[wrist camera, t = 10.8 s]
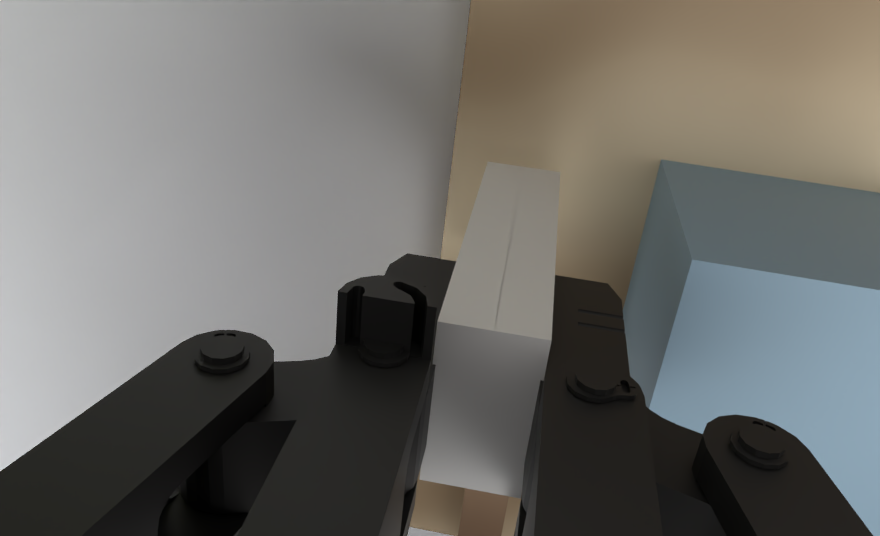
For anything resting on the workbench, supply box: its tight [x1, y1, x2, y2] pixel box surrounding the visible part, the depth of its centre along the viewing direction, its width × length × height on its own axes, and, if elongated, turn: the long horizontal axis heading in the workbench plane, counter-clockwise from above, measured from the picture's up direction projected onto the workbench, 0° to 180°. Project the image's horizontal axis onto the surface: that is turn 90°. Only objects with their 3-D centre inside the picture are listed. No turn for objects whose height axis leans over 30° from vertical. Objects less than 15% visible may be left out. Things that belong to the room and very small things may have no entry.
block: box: [623, 160, 880, 536], centre depth 15 cm, size 5×5×5 cm
